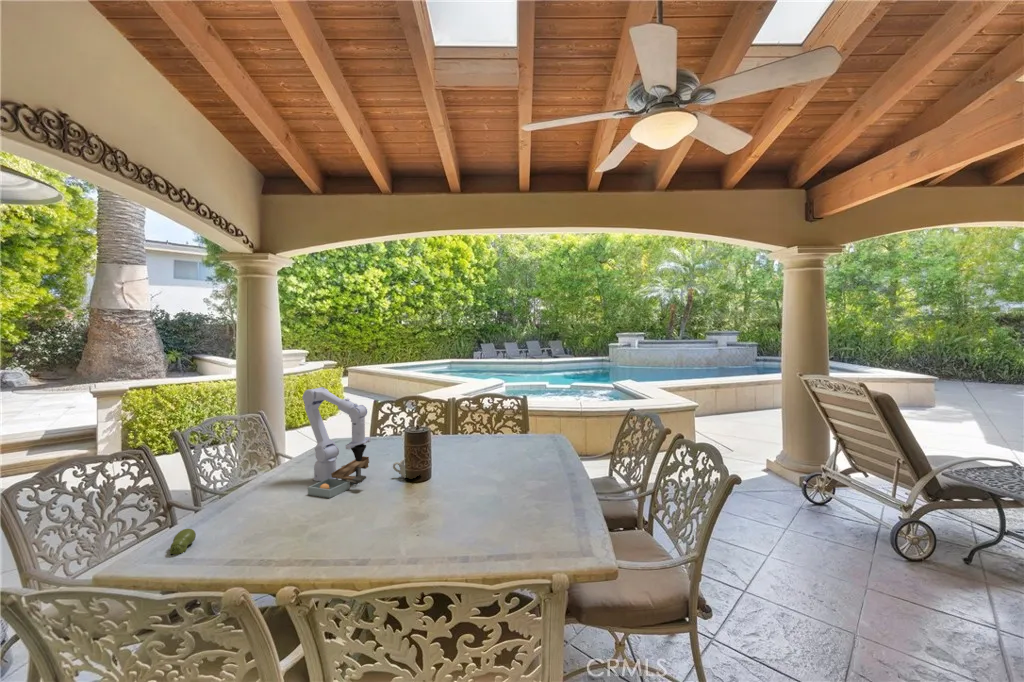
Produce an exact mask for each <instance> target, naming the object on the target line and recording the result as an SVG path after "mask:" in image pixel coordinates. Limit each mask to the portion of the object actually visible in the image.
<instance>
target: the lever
mask: <svg viewBox="0 0 1024 682" xmlns="http://www.w3.org/2000/svg"><path fill="white" fill-rule="evenodd" d="M369 459H370V458H369V456H366V455H365V456H362V460H361V461H356V459H353V460H352V461H350V462H348V463H347V464H344V465H345V466H344V465H342V466H343V467H341V466H340V468H338V469H336V471H335V472H333V473H331V474H332V478H337V479H338V480H342V479H347V480H353V481H356V482H361V481H363V482H364V481H365V479H367V476H366V475H362V474H361V475H358V476H357V477H356V475H355V476H353V475H352V474H354V473H356V468H358V467H361V470H365V469H367V468H369V463H370V460H369ZM361 483H362V482H361Z"/></svg>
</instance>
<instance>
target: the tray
mask: <svg viewBox="0 0 1024 682" xmlns="http://www.w3.org/2000/svg"><path fill="white" fill-rule="evenodd" d="M322 484H328V485H329V489H323V488H320V486H321V485H322ZM350 484H351V483H350V481H345V480H342V479H338V478H337V479H331V478H328V479H325V480H323V481H317V482H316V483H314V484H311V485H309V486H308V487H307V495H308V496H311V495H312V496H313V497H317V496H319V498H323V497H324V499H329V498H330V499H332V498H334V497H336V496H338V495H340V494H342V493H344V492H346V491H348V489H349V490H350V487H351V485H350Z"/></svg>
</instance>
